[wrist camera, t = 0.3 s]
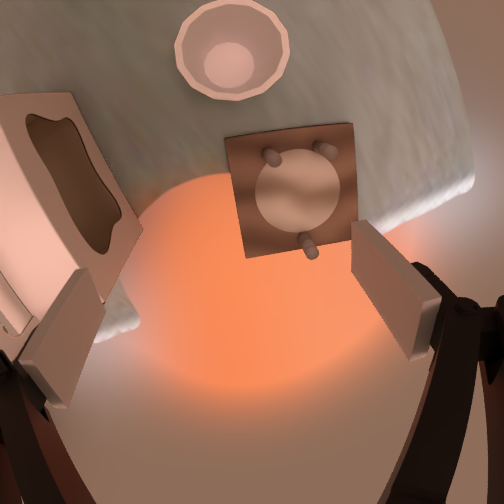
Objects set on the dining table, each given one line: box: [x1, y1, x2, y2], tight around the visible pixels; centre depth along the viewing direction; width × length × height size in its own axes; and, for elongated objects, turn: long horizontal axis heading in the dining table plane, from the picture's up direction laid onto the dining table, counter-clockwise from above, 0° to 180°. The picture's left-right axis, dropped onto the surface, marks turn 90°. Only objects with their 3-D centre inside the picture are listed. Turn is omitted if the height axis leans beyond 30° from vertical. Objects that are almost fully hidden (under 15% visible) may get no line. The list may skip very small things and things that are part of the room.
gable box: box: [0, 92, 143, 363], centre depth 25 cm, size 22×13×28 cm, turn 24°
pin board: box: [225, 123, 358, 260], centre depth 38 cm, size 16×16×6 cm
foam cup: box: [174, 0, 290, 101], centre depth 28 cm, size 10×9×13 cm
